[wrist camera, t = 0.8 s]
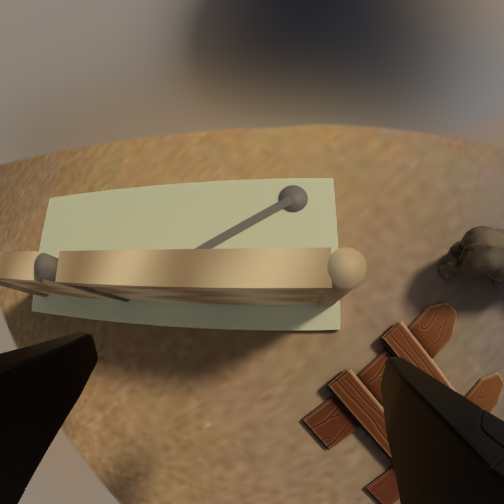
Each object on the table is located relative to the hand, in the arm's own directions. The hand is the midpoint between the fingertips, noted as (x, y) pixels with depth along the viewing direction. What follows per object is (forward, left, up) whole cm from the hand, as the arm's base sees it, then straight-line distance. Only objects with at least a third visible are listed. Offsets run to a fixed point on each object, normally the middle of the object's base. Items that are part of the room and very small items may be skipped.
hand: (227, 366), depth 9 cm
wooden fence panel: (-9, +15, -15) cm, 23 cm away
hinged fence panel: (+1, +5, -15) cm, 16 cm away
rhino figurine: (+19, -11, -16) cm, 27 cm away
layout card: (-1, +12, -16) cm, 20 cm away
